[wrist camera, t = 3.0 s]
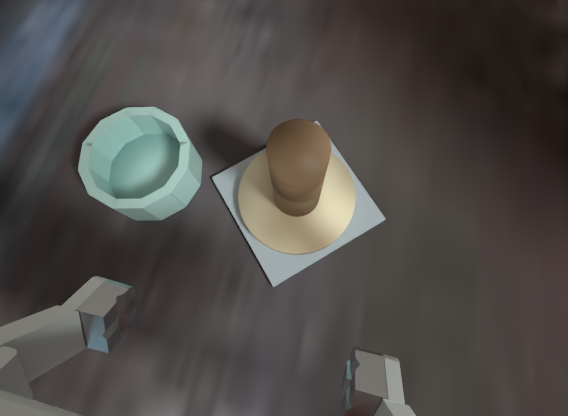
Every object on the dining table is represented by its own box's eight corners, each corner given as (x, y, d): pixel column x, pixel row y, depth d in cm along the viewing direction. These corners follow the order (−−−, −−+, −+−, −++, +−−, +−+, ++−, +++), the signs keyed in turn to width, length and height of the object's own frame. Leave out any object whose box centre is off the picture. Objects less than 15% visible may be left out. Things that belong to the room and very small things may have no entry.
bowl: (176, 114, 29) (161, 90, 26) (218, 189, 27) (207, 173, 24) (91, 158, 28) (63, 138, 25) (128, 238, 26) (103, 229, 23)
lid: (314, 127, 28) (324, 51, 20) (376, 217, 26) (417, 174, 17) (220, 179, 27) (187, 122, 18) (275, 277, 25) (267, 263, 16)
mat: (316, 122, 29) (316, 120, 28) (384, 220, 26) (385, 219, 26) (212, 179, 27) (211, 177, 27) (273, 287, 25) (273, 286, 25)
